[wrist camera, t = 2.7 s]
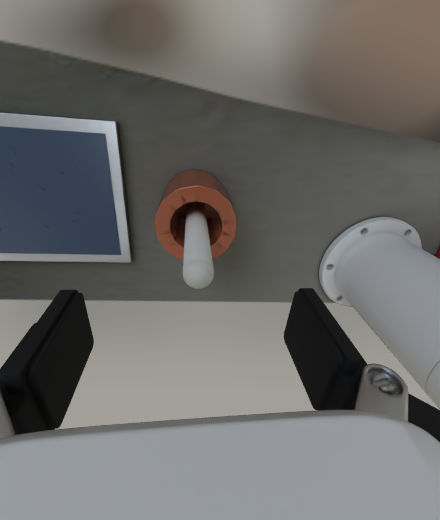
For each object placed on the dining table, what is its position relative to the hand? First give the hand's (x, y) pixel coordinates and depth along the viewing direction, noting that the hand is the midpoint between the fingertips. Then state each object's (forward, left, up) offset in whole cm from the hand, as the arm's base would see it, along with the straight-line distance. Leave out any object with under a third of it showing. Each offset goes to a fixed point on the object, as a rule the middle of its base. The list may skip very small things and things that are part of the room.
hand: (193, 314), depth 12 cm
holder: (0, 0, -18) cm, 18 cm away
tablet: (+17, 0, -18) cm, 24 cm away
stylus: (0, 0, -17) cm, 17 cm away
